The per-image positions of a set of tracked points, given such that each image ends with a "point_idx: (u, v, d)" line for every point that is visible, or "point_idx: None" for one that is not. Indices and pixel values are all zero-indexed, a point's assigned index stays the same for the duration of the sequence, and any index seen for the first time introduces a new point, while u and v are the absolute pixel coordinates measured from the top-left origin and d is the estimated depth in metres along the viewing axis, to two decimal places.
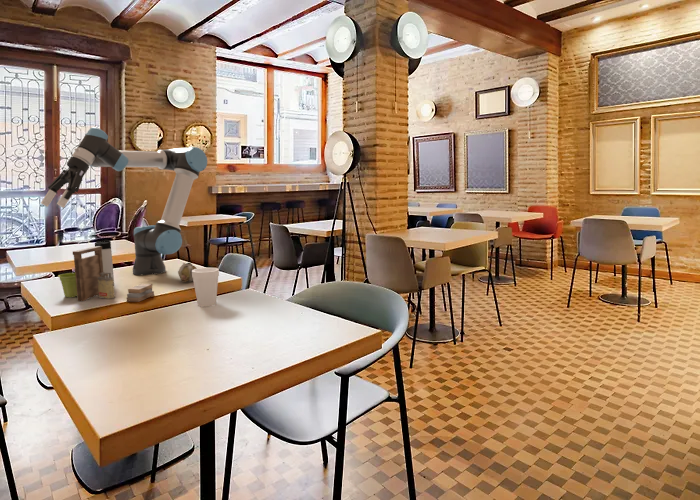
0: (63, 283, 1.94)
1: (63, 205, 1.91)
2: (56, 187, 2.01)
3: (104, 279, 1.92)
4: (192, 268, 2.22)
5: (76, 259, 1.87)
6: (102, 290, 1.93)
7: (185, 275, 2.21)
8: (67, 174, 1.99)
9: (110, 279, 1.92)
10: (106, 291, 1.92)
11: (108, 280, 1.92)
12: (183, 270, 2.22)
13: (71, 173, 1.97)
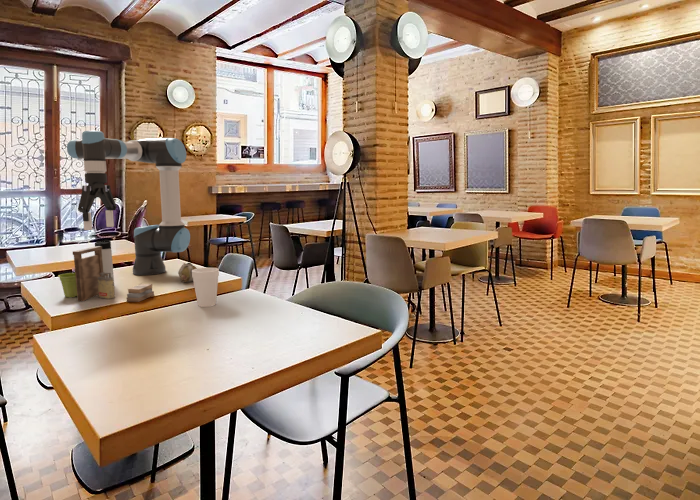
0: (63, 283, 1.94)
1: (89, 228, 1.84)
2: (107, 205, 1.96)
3: (104, 279, 1.92)
4: (192, 268, 2.22)
5: (76, 259, 1.87)
6: (102, 290, 1.93)
7: (185, 275, 2.21)
8: None
9: (110, 279, 1.92)
10: (106, 291, 1.92)
11: (108, 280, 1.92)
12: (183, 270, 2.22)
13: None
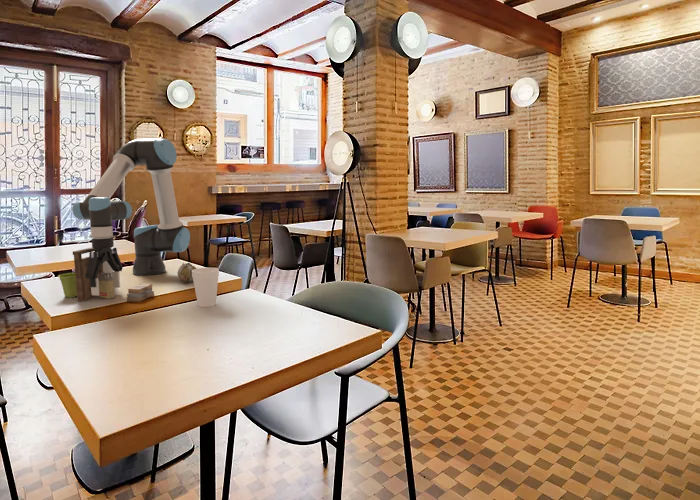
0: (63, 283, 1.94)
1: (96, 293, 1.88)
2: (113, 267, 2.00)
3: (104, 279, 1.92)
4: (192, 268, 2.21)
5: (76, 259, 1.87)
6: (102, 290, 1.93)
7: (185, 275, 2.20)
8: None
9: (110, 279, 1.92)
10: (106, 291, 1.92)
11: (108, 280, 1.92)
12: (183, 270, 2.22)
13: None
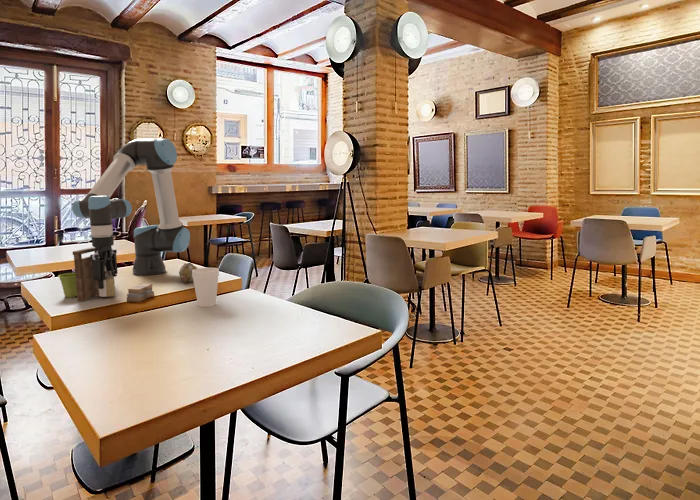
0: (63, 283, 1.94)
1: (104, 294, 1.92)
2: (109, 270, 1.97)
3: (104, 277, 1.92)
4: (193, 268, 2.21)
5: (76, 259, 1.87)
6: None
7: (185, 275, 2.20)
8: None
9: (111, 277, 1.93)
10: (107, 289, 1.93)
11: (109, 278, 1.92)
12: (184, 270, 2.22)
13: None
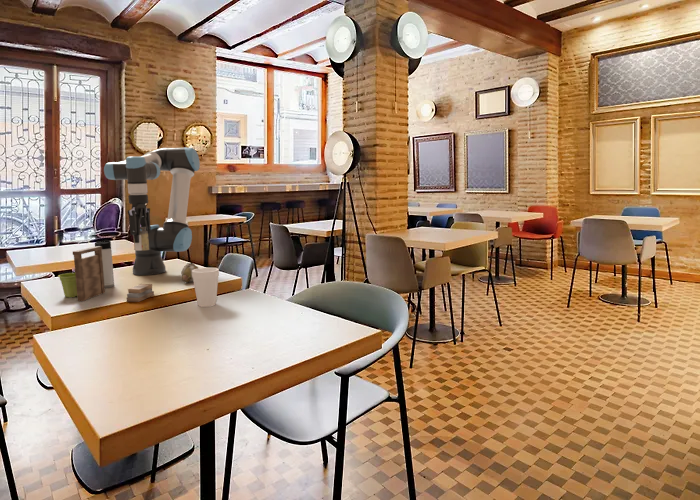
0: (63, 283, 1.94)
1: (139, 248, 2.08)
2: None
3: (140, 232, 2.08)
4: (194, 268, 2.21)
5: (76, 259, 1.87)
6: None
7: (187, 275, 2.20)
8: None
9: (145, 232, 2.08)
10: (142, 243, 2.08)
11: (143, 233, 2.08)
12: (185, 270, 2.22)
13: None
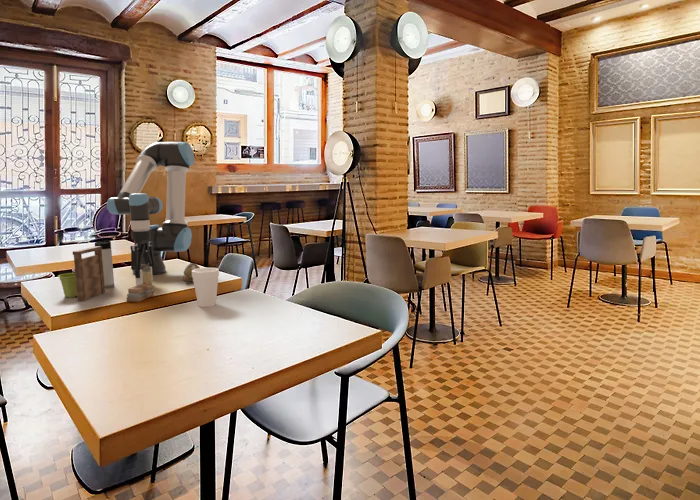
0: (63, 283, 1.94)
1: (140, 283, 2.09)
2: (147, 261, 2.15)
3: (143, 270, 2.11)
4: (195, 268, 2.21)
5: (76, 259, 1.87)
6: None
7: (188, 275, 2.20)
8: None
9: (149, 270, 2.11)
10: (145, 281, 2.11)
11: (147, 271, 2.10)
12: (187, 270, 2.22)
13: None
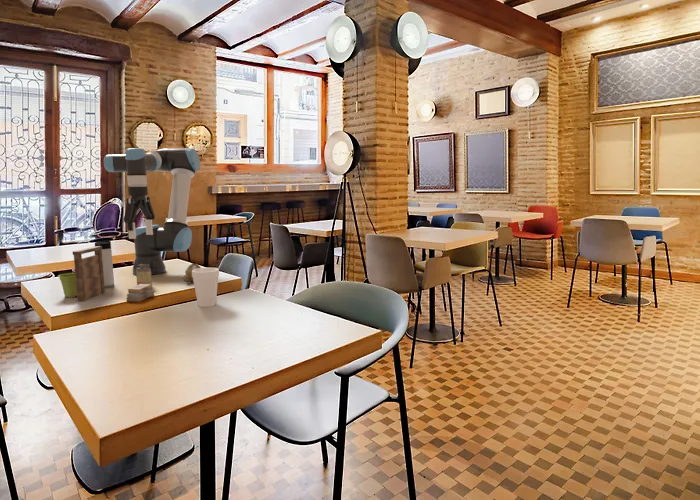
0: (63, 283, 1.94)
1: (133, 237, 2.03)
2: (147, 215, 2.15)
3: (143, 270, 2.11)
4: (196, 268, 2.21)
5: (76, 259, 1.87)
6: (141, 280, 2.12)
7: (189, 275, 2.20)
8: None
9: (149, 270, 2.11)
10: (145, 281, 2.11)
11: (147, 271, 2.10)
12: (188, 270, 2.22)
13: None
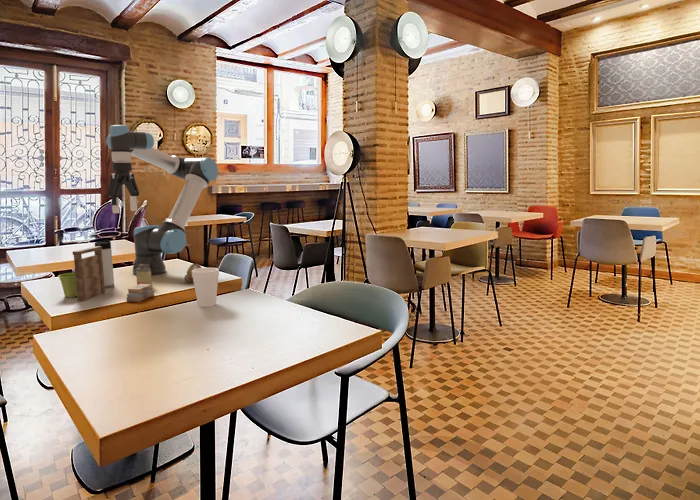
0: (63, 283, 1.94)
1: (117, 211, 2.09)
2: (131, 192, 2.20)
3: (143, 270, 2.11)
4: (196, 268, 2.21)
5: (76, 259, 1.87)
6: (141, 280, 2.12)
7: (189, 275, 2.20)
8: None
9: (149, 270, 2.11)
10: (145, 281, 2.11)
11: (147, 271, 2.10)
12: (188, 270, 2.22)
13: None
